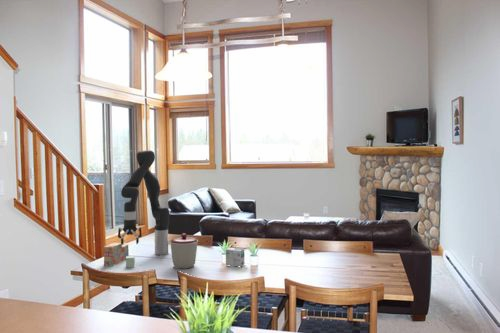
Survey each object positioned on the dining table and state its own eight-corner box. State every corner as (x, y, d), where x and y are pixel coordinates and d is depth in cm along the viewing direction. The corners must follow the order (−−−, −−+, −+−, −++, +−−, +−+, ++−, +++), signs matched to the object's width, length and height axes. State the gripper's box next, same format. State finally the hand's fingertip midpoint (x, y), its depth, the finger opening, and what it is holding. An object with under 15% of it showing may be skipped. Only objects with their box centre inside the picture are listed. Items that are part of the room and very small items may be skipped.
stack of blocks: (120, 257, 293) (120, 239, 292) (128, 258, 291) (128, 240, 291) (103, 265, 272) (103, 246, 271) (112, 266, 270) (112, 246, 270)
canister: (197, 262, 280) (197, 230, 279) (199, 270, 262) (199, 235, 262) (169, 263, 277) (169, 231, 276) (169, 271, 259) (169, 236, 258)
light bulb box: (244, 265, 274) (244, 248, 274) (241, 267, 268) (241, 250, 268) (229, 263, 278) (229, 247, 278) (225, 266, 272) (225, 249, 271)
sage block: (134, 265, 273) (134, 255, 273) (134, 267, 268) (134, 257, 268) (126, 265, 272) (126, 256, 272) (125, 267, 267) (125, 258, 267)
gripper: (141, 217, 274) (141, 242, 275) (118, 217, 271) (118, 243, 272) (141, 219, 267) (141, 245, 267) (117, 219, 264) (117, 245, 264)
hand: (129, 244), depth 269 cm, fingers open, 8 cm apart
